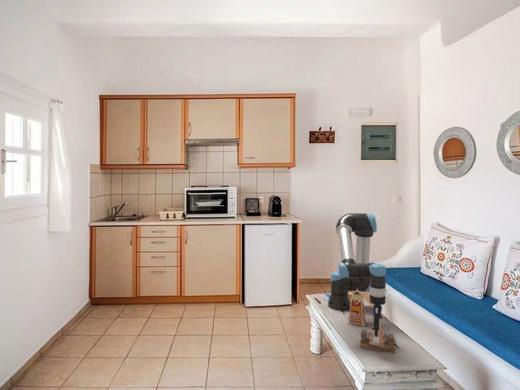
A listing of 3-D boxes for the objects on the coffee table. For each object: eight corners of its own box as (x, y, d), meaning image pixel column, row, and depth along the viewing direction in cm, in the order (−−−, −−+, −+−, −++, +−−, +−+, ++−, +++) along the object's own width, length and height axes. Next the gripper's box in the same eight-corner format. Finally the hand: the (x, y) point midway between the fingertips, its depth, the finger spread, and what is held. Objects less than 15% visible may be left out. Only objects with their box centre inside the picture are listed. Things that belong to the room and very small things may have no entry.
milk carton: (364, 326, 194) (364, 291, 193) (347, 323, 198) (347, 289, 197) (366, 320, 202) (366, 287, 201) (350, 317, 206) (350, 285, 205)
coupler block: (372, 343, 169) (372, 329, 169) (372, 338, 174) (372, 325, 174) (382, 344, 167) (382, 331, 167) (383, 340, 172) (383, 327, 172)
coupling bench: (362, 334, 183) (362, 323, 183) (394, 339, 177) (394, 328, 177) (359, 347, 168) (359, 335, 168) (393, 353, 162) (394, 341, 162)
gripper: (384, 304, 157) (383, 349, 158) (386, 288, 180) (386, 328, 181) (367, 302, 160) (367, 346, 161) (371, 287, 183) (371, 325, 184)
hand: (377, 336), depth 171 cm, fingers open, 13 cm apart
